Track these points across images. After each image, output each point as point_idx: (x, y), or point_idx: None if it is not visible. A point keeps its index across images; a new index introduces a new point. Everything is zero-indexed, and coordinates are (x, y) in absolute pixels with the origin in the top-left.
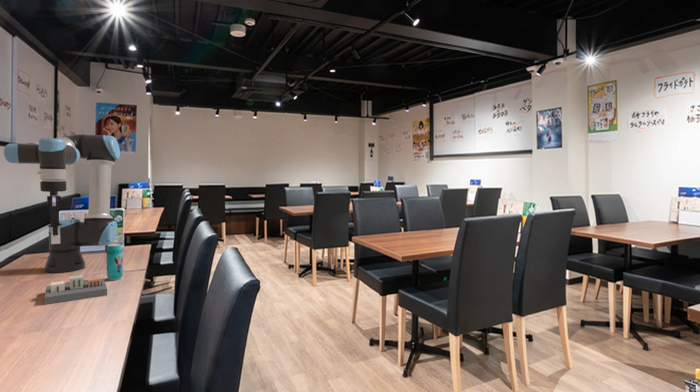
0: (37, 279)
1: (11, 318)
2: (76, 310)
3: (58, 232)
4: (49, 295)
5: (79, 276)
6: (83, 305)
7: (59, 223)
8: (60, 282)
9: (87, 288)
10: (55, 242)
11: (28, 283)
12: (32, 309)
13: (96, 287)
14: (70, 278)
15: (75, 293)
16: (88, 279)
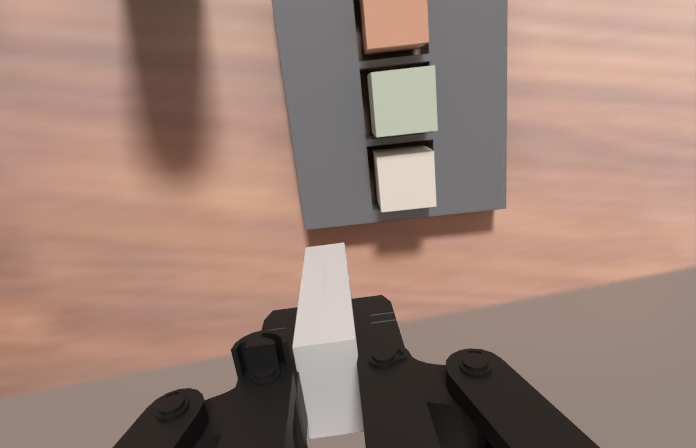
0: (37, 291)
1: (602, 270)
2: (654, 77)
3: (352, 307)
4: (482, 195)
5: (402, 87)
6: (599, 56)
7: (491, 365)
8: (400, 172)
9: (447, 48)
10: (349, 282)
11: (105, 310)
12: (533, 229)
13: (450, 4)
14: (427, 128)
15: (505, 96)
16: (405, 42)
